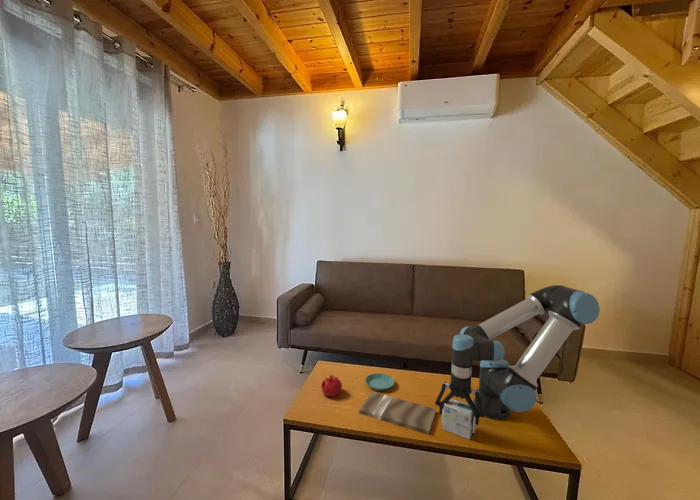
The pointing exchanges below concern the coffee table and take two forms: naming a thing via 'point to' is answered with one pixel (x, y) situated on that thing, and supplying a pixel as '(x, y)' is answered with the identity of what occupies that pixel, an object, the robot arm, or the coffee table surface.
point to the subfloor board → (399, 412)
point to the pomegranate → (331, 386)
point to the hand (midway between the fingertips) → (458, 426)
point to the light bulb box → (458, 418)
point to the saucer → (379, 382)
